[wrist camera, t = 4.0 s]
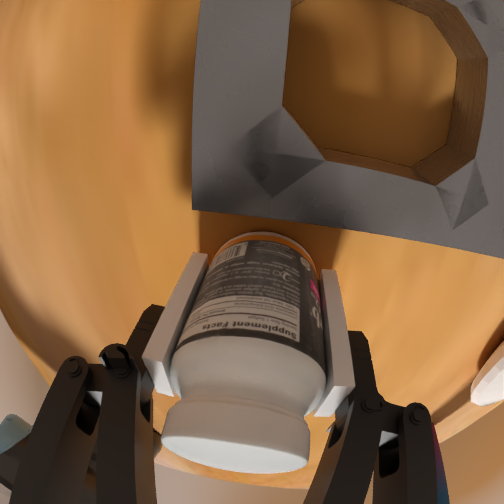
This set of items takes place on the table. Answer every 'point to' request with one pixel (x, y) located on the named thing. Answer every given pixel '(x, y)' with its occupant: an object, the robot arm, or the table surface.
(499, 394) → the lid
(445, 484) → the cup
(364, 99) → the table surface
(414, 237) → the jig
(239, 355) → the pill bottle
